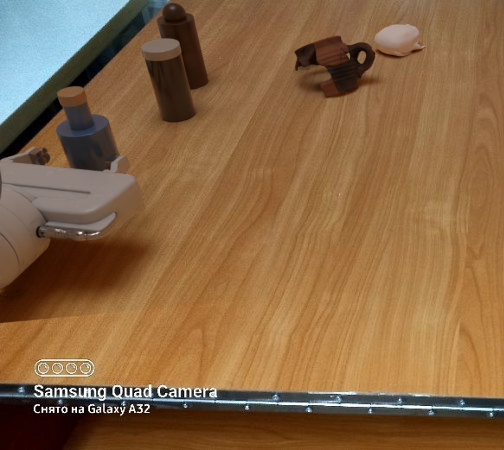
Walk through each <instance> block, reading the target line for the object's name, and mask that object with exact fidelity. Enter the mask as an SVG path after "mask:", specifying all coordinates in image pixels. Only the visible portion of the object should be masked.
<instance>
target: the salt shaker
mask: <svg viewBox="0 0 504 450" xmlns="http://www.w3.org/2000/svg"><path fill="white" fill-rule="evenodd" d="M140 50H141V54H142V56H143V59H144V61H145V65H146V69H147V72H148V76H149V79H150V82H151V86H152V90H153V93H154V94H153V95H154V96H155V100H156V104H157V107H158V111H159V114H160V118H161V119H162V121H166V122H170V123H171V122H172V123H177V122H184V121H186V120H189V119H191V118H192V117H194V116H195V114H196V113H197V112H196V107H195V102H194V98H193V95H192V89H190V86H189V82H188V78H187V74H186V70H185V66H184V62H183V58H182V54H181V47H180V43H179V41H177V40H175V39H161V38H157V39H152V40H149V41H147V42H144V43H143V44H141V46H140Z"/></svg>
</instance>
